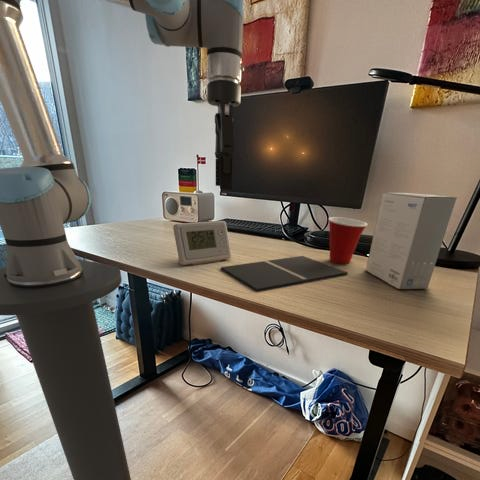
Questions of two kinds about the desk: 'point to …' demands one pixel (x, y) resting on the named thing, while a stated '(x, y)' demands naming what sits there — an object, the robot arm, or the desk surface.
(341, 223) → the plastic cup
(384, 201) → the hard drive box
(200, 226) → the digital clock
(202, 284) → the desk surface
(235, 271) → the desk mat
